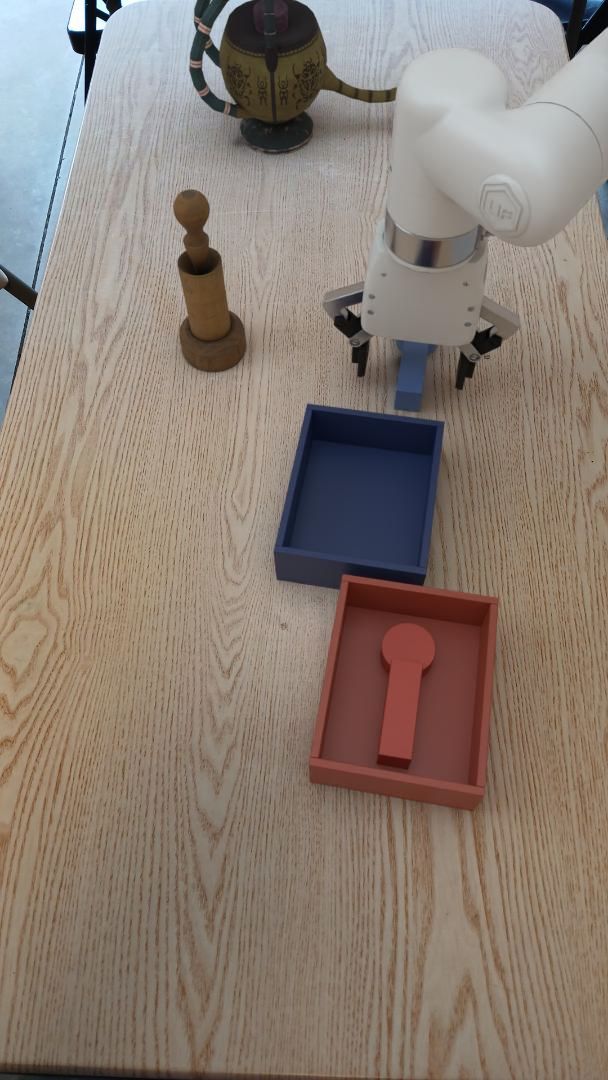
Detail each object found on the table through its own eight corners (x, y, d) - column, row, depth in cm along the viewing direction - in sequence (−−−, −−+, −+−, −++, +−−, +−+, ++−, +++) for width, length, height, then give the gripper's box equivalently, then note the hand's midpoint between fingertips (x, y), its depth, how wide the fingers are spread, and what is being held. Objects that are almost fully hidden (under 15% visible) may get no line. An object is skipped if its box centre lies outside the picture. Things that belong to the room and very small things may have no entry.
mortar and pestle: (168, 345, 84) (133, 192, 68) (218, 313, 86) (195, 158, 70) (209, 383, 81) (182, 233, 66) (259, 349, 83) (245, 196, 68)
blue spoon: (428, 413, 79) (431, 394, 77) (384, 408, 79) (386, 388, 77) (439, 328, 84) (443, 308, 82) (398, 323, 85) (400, 303, 82)
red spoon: (420, 771, 62) (424, 762, 60) (364, 761, 62) (366, 752, 60) (435, 637, 67) (439, 623, 65) (383, 628, 68) (386, 614, 65)
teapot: (205, 102, 104) (177, -118, 83) (406, 96, 103) (426, -126, 83) (200, 164, 98) (169, -56, 77) (413, 159, 97) (437, -64, 77)
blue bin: (419, 601, 69) (426, 574, 65) (276, 579, 71) (273, 551, 66) (437, 454, 77) (444, 421, 72) (307, 437, 78) (307, 403, 74)
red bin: (473, 811, 61) (484, 796, 57) (309, 782, 62) (308, 765, 58) (487, 623, 68) (499, 597, 64) (341, 600, 70) (342, 573, 65)
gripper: (547, 205, 66) (504, 354, 81) (330, 182, 67) (328, 332, 82) (543, 272, 62) (499, 415, 77) (314, 246, 64) (315, 390, 79)
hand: (411, 372), depth 80 cm, fingers open, 9 cm apart
